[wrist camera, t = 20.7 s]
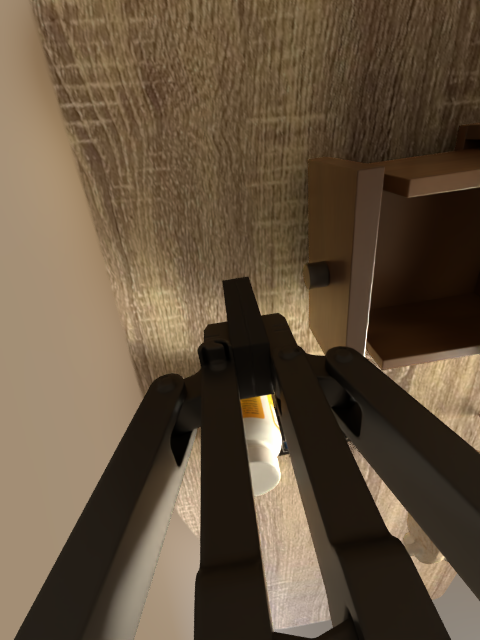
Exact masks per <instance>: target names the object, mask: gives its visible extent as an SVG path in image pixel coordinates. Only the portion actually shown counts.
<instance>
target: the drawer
mask: <svg viewBox="0 0 480 640" xmlns="http://www.w3.org/2000/svg"><path fill="white" fill-rule="evenodd" d="M308 248H309V263H307V264H305V265H304V268H303V277H304V282H305V285H306V287H307V289H309V327H310V329H311V331H312V333H313V334H314V336H315V338H316V340H317V342H318V343H319V345H320V347H321V349H322V351H323V352H324V354H325V356H326V352H327V351H328V350H329V349H331V348H333V347H338V346H346V347H350V348H353V349H355V350H356V351H358V352H359V353H360V354H362V355H363V356H365V349H366V350H367V351H368V352H369V354H370V355H371V356H372V358H373V359H374V360H375V362H376V363H377V364H378V366H379V367H380V368H381V369H382V370H386V369H392V368H398V367H404V366H410V365H417V364H423V363H429V362H435V361H441V360H447V359H453V358H459V357H465V356H471V355H477V354H480V147H478V148H471V149H464V150H457V151H450V152H443V153H436V154H429V155H422V156H415V157H409V158H402V159H395V160H388V161H381V162H374V163H362V162H356V161H350V160H344V159H338V158H333V157H327V156H325V157H318V158H311V159H308Z"/></svg>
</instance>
